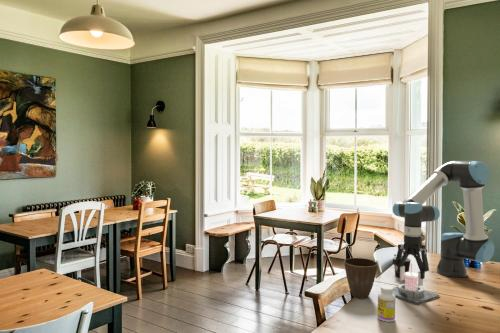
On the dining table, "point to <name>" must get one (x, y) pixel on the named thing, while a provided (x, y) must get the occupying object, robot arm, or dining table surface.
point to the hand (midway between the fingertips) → (411, 282)
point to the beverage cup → (411, 280)
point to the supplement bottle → (386, 304)
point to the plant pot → (360, 276)
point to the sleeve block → (413, 294)
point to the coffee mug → (406, 264)
